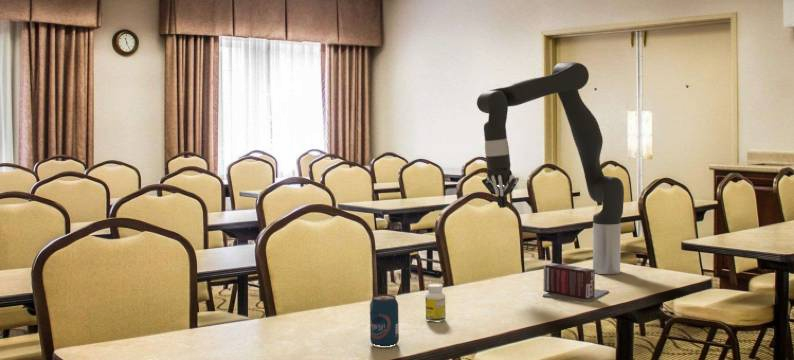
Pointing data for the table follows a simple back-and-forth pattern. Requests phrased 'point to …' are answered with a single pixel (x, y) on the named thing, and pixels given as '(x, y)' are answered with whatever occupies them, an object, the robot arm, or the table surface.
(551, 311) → the table surface
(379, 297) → the soda can
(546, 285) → the supplement box
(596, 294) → the mat
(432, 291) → the supplement bottle
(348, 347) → the table surface
